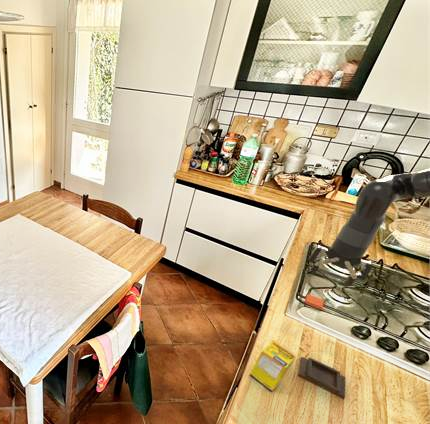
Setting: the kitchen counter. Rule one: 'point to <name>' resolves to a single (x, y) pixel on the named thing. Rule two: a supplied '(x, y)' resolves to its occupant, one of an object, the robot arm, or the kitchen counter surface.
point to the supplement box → (272, 365)
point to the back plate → (322, 376)
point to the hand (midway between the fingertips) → (328, 278)
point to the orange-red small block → (314, 301)
